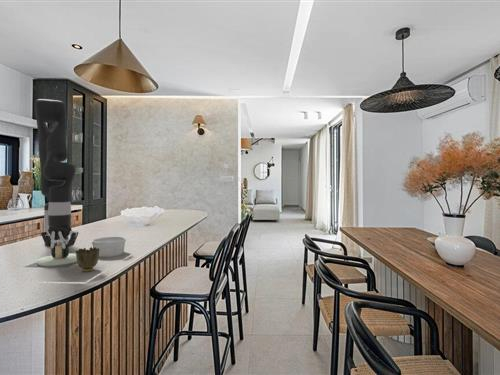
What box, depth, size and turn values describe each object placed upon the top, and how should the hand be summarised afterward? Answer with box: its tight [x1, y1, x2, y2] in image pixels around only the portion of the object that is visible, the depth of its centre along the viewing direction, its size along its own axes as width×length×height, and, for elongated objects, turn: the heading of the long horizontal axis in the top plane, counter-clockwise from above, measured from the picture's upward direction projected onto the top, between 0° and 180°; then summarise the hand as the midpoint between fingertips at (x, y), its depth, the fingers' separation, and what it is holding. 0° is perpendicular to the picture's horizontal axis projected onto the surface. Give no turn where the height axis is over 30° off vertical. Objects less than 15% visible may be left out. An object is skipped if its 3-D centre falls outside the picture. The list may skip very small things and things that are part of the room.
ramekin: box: [91, 236, 126, 258], centre depth 130 cm, size 13×13×7 cm
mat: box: [24, 261, 78, 269], centre depth 118 cm, size 16×16×1 cm
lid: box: [36, 244, 78, 268], centre depth 118 cm, size 15×15×6 cm
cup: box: [75, 246, 100, 273], centre depth 106 cm, size 8×7×8 cm
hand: (60, 257), depth 118 cm, fingers closed on lid, 3 cm apart
